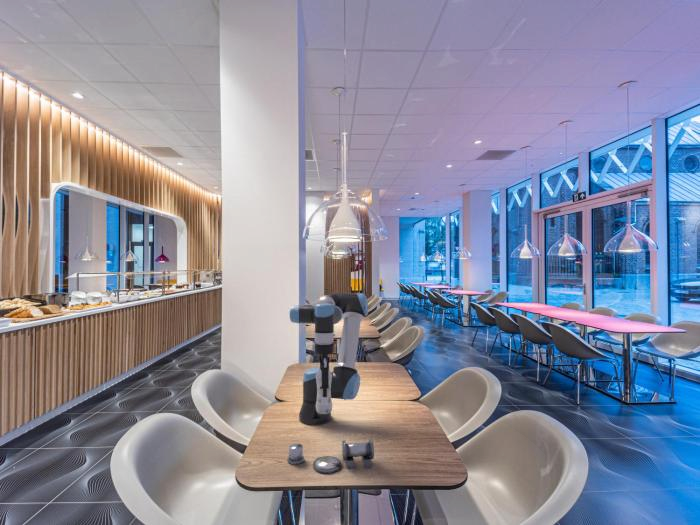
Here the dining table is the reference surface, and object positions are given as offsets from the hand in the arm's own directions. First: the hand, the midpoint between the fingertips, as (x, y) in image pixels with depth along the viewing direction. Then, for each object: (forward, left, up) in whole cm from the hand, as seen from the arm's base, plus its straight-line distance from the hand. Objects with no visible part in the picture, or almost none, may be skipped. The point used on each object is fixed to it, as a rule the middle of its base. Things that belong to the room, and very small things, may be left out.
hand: (324, 401), depth 142 cm
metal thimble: (-3, -13, -18) cm, 23 cm away
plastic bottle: (0, 0, -5) cm, 5 cm away
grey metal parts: (+13, -7, -18) cm, 23 cm away
